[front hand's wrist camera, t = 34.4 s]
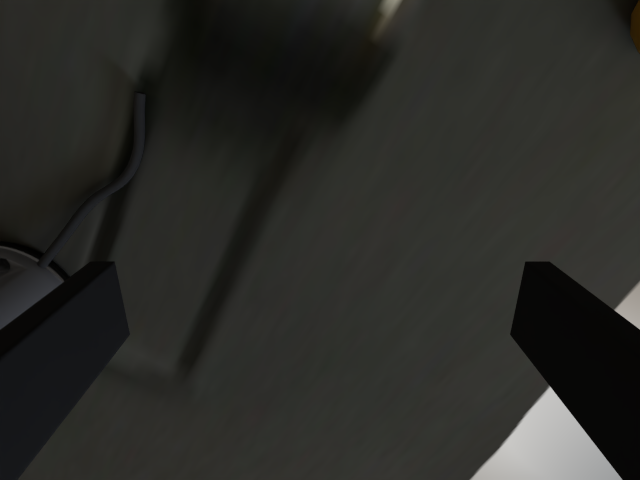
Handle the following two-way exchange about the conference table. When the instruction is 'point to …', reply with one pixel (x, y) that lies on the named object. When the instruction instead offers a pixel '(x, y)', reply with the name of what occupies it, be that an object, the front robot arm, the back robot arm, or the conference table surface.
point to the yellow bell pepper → (636, 26)
